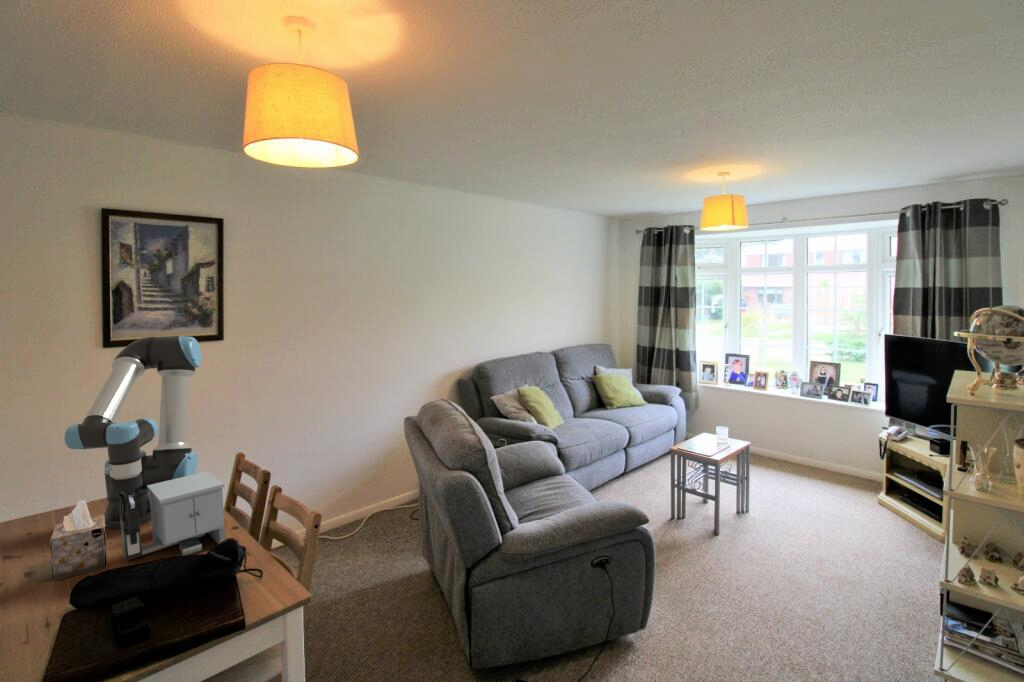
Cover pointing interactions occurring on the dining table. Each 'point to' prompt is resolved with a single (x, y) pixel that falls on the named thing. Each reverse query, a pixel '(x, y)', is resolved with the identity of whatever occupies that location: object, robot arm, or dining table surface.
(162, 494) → the sideboard cabinet
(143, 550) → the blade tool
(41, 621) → the dining table surface
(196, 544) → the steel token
